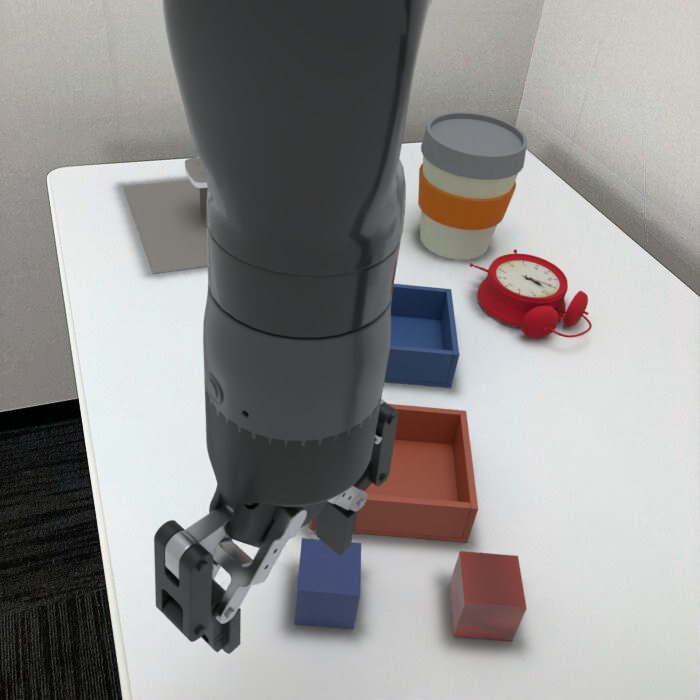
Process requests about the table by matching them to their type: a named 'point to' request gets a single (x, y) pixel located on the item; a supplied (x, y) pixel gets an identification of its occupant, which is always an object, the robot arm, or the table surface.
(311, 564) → the navy block
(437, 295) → the blue bin
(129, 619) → the table surface
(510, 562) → the red block
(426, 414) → the terracotta bin
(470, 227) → the reusable coffee cup
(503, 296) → the alarm clock
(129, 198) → the architectural model
